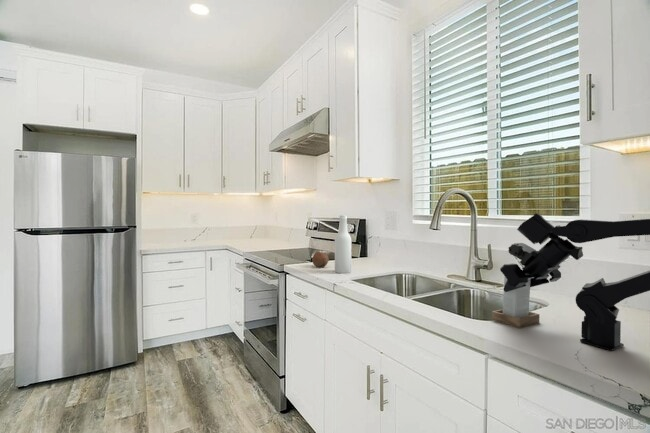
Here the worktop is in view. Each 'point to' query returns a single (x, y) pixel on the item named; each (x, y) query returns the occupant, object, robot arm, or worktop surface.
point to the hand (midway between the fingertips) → (512, 289)
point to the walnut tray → (515, 319)
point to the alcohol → (343, 247)
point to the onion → (320, 259)
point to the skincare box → (517, 301)
